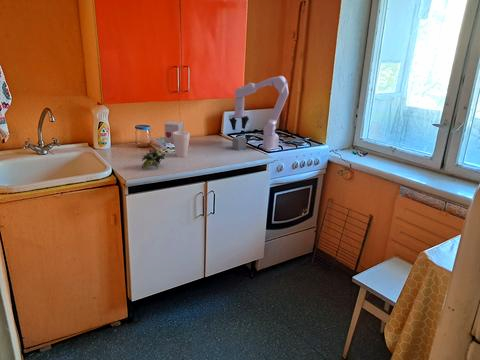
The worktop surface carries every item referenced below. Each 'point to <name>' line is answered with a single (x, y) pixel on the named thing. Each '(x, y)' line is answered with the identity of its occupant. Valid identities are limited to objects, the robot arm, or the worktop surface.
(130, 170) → the worktop surface
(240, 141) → the grey cube
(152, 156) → the green leafy clump
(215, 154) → the worktop surface
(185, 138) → the foam cup
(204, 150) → the worktop surface
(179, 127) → the supplement box
